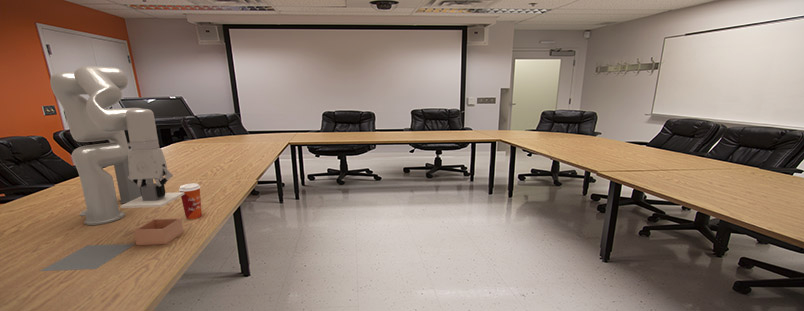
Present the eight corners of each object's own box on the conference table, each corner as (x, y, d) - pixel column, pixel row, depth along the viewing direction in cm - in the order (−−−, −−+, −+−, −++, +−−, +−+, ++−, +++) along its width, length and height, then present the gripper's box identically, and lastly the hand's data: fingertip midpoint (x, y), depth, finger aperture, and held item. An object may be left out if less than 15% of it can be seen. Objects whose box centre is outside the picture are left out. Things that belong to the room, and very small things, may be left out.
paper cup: (194, 221, 133) (189, 188, 130) (178, 219, 134) (173, 187, 132) (208, 214, 140) (204, 183, 138) (193, 212, 142) (189, 182, 139)
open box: (136, 246, 112) (133, 230, 111) (156, 233, 122) (153, 218, 120) (166, 245, 112) (163, 229, 111) (183, 232, 122) (181, 218, 121)
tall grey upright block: (145, 194, 168) (137, 147, 162) (156, 194, 167) (148, 147, 162) (119, 203, 154) (109, 152, 149) (130, 204, 153) (120, 152, 148)
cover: (120, 208, 107) (117, 191, 106) (148, 195, 120) (145, 180, 119) (161, 206, 108) (158, 190, 107) (184, 194, 121) (182, 179, 119)
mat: (39, 272, 96) (39, 270, 96) (87, 246, 112) (87, 245, 112) (96, 270, 97) (95, 268, 97) (135, 245, 113) (135, 243, 113)
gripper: (110, 148, 106) (120, 200, 109) (163, 147, 107) (172, 199, 110) (127, 144, 113) (136, 193, 117) (177, 143, 114) (185, 192, 118)
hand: (153, 196), depth 114 cm, fingers closed on cover, 4 cm apart
